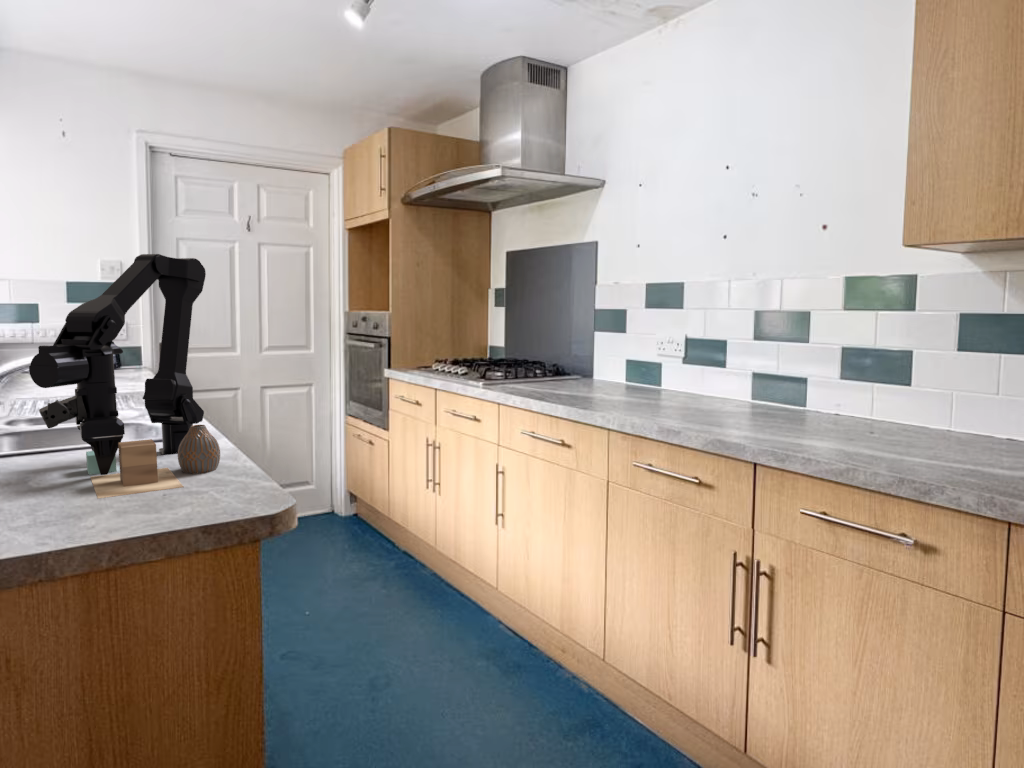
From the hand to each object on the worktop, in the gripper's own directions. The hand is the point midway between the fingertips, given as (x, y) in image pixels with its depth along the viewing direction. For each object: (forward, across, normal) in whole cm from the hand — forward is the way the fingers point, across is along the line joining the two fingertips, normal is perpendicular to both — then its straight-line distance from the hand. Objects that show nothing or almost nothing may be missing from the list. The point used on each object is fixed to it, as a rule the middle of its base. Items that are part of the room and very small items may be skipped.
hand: (101, 469), depth 124 cm
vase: (+1, +9, +14) cm, 17 cm away
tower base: (0, +12, +4) cm, 13 cm away
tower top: (-3, +12, +4) cm, 13 cm away
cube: (+1, 0, 0) cm, 1 cm away
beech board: (+1, +12, +4) cm, 13 cm away
